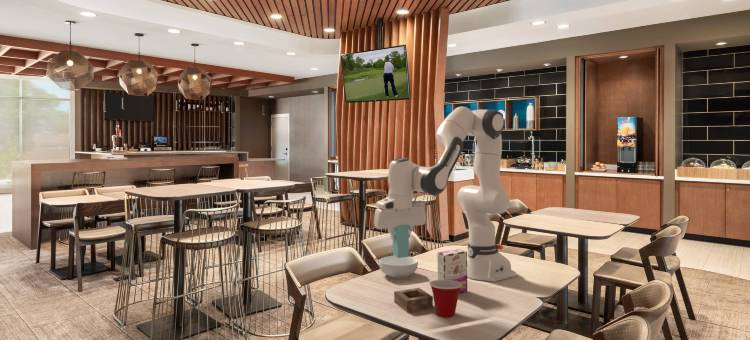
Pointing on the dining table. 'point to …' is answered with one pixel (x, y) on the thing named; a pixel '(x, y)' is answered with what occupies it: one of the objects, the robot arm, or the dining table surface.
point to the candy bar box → (453, 267)
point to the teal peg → (401, 241)
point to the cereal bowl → (398, 266)
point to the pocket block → (413, 299)
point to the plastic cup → (445, 296)
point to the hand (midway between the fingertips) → (400, 238)
